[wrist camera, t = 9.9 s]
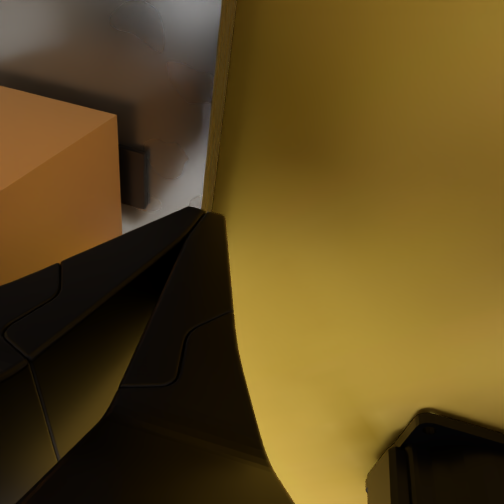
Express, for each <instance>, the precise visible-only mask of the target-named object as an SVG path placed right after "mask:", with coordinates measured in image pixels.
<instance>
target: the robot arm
mask: <svg viewBox="0 0 504 504" xmlns="http://www.w3.org/2000/svg"><path fill="white" fill-rule="evenodd" d="M233 313H234V310H233V299H232V287H231V276H230V265H229V253H228V242H227V231H226V220H225V216H224V215H221V214H218V213H214V212H207V213H206V211H205V210H203V209H199V208H195V207H192V206H188V207H185V208H183V209H180V210H178V211H176V212H173V213H171V214H169V215H166V216H164V217H162V218H160V219H157V220H155V221H153V222H150V223H148V224H146V225H143V226H141V227H139V228H136V229H134V230H132V231H129V232H127V233H125V234H123V235H120V236H118V237H116V238H113V239H111V240H109V241H106V242H104V243H102V244H99V245H97V246H95V247H93V248H90V249H88V250H86V251H83V252H81V253H79V254H76V255H74V256H72V257H69V258H67V259H65V260H62V261H61V263H55V264H53V265H51V266H48V267H46V268H44V269H41V270H39V271H37V272H34V273H32V274H29V275H27V276H24V277H22V278H19V279H17V280H14V281H12V282H9V283H6V284H4V285H1V286H0V504H295V503H294V502H293V500H292V498H291V497H290V495H289V494H288V492H287V491H286V489H285V488H284V486H283V484H282V483H281V481H280V480H279V478H278V477H277V475H276V473H275V472H274V470H273V468H272V466H271V464H270V461H269V459H268V457H267V454H266V451H265V448H264V445H263V442H262V439H261V436H260V432H259V429H258V425H257V421H256V418H255V414H254V410H253V406H252V403H251V399H250V395H249V391H248V388H247V384H246V380H245V376H244V373H243V368H242V364H241V359H240V355H239V350H238V344H237V337H236V329H235V319H234V314H233ZM366 492H367V493H368V504H504V434H501V433H498V432H494V431H491V430H488V429H484V428H481V427H477V426H474V425H470V424H467V423H464V422H460V421H457V420H453V419H450V418H447V417H443V416H440V415H436V414H432V413H422V414H418V415H417V416H416V417H415V418H414V419H413V420H412V421H411V423H410V424H409V425H408V427H407V428H406V429H405V430H404V432H403V433H402V434H401V435H400V437H399V438H398V439H397V441H396V442H395V443H394V444H393V446H391V447H390V448H388V449H387V450H386V452H385V453H384V454H383V455H382V457H381V458H380V459H379V461H378V462H377V463H376V464H375V466H374V467H373V468H372V470H371V471H370V472H369V473H368V477H367V479H366Z"/></svg>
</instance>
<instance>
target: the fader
mask: <svg viewBox="0 0 504 504" xmlns="http://www.w3.org/2000/svg"><path fill="white" fill-rule="evenodd" d="M120 235H122V216H121V194H120V172H119V150H118V128H117V115H115V114H111V113H107V112H103V111H99V110H95V109H91V108H87V107H83V106H79V105H75V104H71V103H67V102H63V101H59V100H55V99H51V98H48V97H44V96H40V95H36V94H32V93H28V92H24V91H20V90H16V89H12V88H8V87H4V86H0V286H1V285H4V284H6V283H9V282H12V281H14V280H17V279H19V278H22V277H24V276H27V275H29V274H32V273H34V272H37V271H39V270H41V269H44V268H46V267H48V266H51V265H53V264H55V263H61V261H62V260H65V259H67V258H69V257H72V256H74V255H76V254H79V253H81V252H83V251H86V250H88V249H90V248H93V247H95V246H97V245H99V244H102V243H104V242H106V241H109V240H111V239H113V238H116V237H118V236H120Z"/></svg>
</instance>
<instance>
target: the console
mask: <svg viewBox="0 0 504 504" xmlns="http://www.w3.org/2000/svg"><path fill="white" fill-rule="evenodd" d="M236 4H237V0H0V86H4V87H8V88H12V89H16V90H20V91H24V92H28V93H32V94H36V95H40V96H44V97H48V98H51V99H55V100H59V101H63V102H67V103H71V104H75V105H79V106H83V107H87V108H91V109H95V110H99V111H103V112H107V113H111V114H115V115H117V128H118V150H119V172H120V194H121V216H122V235H123V234H125V233H127V232H129V231H132V230H134V229H136V228H139V227H141V226H143V225H146V224H148V223H150V222H153V221H155V220H157V219H160V218H162V217H164V216H166V215H169V214H171V213H173V212H176V211H178V210H180V209H183V208H185V207H188V206H192V207H195V208H199V209H203V210H205V211H206V213H207V212H212V205H213V197H214V188H215V180H216V172H217V163H218V155H219V147H220V138H221V130H222V121H223V113H224V105H225V96H226V88H227V80H228V71H229V63H230V54H231V46H232V38H233V29H234V21H235V13H236Z"/></svg>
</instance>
